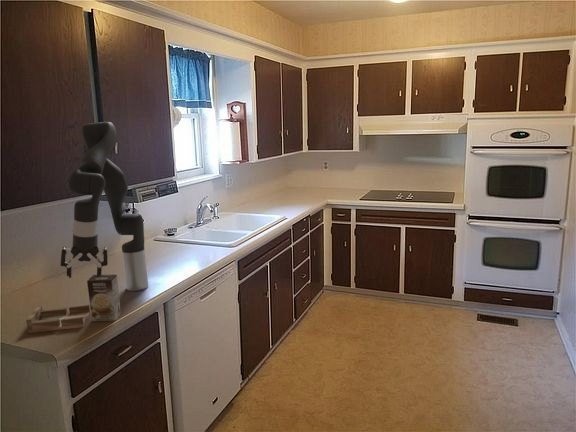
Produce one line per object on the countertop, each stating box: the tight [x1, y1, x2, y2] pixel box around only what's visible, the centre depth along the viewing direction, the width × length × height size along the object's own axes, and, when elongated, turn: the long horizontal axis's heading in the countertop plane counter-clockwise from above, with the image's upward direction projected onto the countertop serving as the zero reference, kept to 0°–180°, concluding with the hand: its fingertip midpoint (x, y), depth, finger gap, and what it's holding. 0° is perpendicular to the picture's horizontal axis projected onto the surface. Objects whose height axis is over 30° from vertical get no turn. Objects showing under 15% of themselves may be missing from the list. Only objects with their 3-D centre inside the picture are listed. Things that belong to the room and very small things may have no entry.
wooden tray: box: [25, 304, 91, 334], centre depth 162 cm, size 12×18×5 cm, turn 102°
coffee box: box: [86, 274, 122, 322], centre depth 164 cm, size 9×6×16 cm
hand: (84, 276), depth 149 cm, fingers open, 8 cm apart
